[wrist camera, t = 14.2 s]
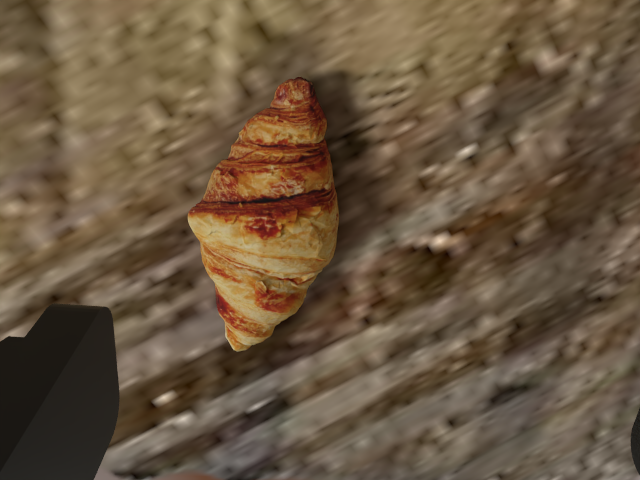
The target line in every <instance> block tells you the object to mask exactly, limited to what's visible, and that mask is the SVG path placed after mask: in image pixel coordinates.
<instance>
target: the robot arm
mask: <svg viewBox="0 0 640 480" xmlns="http://www.w3.org/2000/svg"><path fill="white" fill-rule="evenodd" d="M118 410H119V383H118V372H117V361H116V349H115V338H114V327H113V318H112V314H111V311H110V310H109V308H107V307H100V306H85V305H70V304H55V303H54V304H51V305H50V306H49V307H48V308H47V309H46V310H45V311H44V313H43V314H42V315H41V317H40V318H39V319H38V321H37V322H36V323H35V324H34V326H33V327H32V328H31V330H30V331H29V332H28V334H27V335H26V336H25V337H10V336H8V337H7V338H5V339H4V340H2V341H1V342H0V480H94V478H95V475H96V473H97V471H98V469H99V466H100V464H101V462H102V459H103V457H104V455H105V452H106V450H107V448H108V445H109V443H110V441H111V438H112V436H113V433H114V430H115V426H116V422H117V417H118ZM631 451H632V457H633V461H634V464H635V466H636V469H637V471H638V473H639V475H640V409H639V412H638V414H637V417H636V419H635V422H634V425H633V428H632V433H631Z"/></svg>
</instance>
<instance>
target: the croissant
mask: <svg viewBox="0 0 640 480" xmlns="http://www.w3.org/2000/svg"><path fill="white" fill-rule="evenodd" d="M326 129H327V119H326V117H325V115H324V113H323V111H322V109H321V106H320V104H319V102H318V100H317V98H316V94H315V90H314V88H313V84H312V83H311V82H309V81H307V80H306V79H303V78H302V77H297V78H295V79H289V80H287V81H285V82H284V83H282V84H281V85H279V87H278V88H277V90H276V92H275V96H274V99H273V101H272V103H271V106H270V108H266V109H264V110H263V111H261V112H259V113H257V114H256V115H255V116H253V117H252V118H251V119H249V120H248V121H247V123H246V124H245V126H244V128H243V130H242V131H241V132H239V137H238V139H237V140H236V142H235V143H234V144H233V145H232V146H231V152H230V155H229V157H228V159H226V160H222V161H221V162H220V163H219V164H218V165H217V167H216V168H215V170H214V171H213V173H212V175H211V178H210V180H209V183H208V187H207V191H206V193H205V195H204V197H203V199H202V200H201V202H200V203H198V204H196V206H195V207H193V208H192V209H191V210H190V211H189V213H188V222H189V225H190V227H191V229H192V230H193V232H194V233H195V235H196V237H197V238H198V239H199V241H200V242H201V254H202V261H203V263H204V266H205V268H206V271H207V273H208V275H209V276H210V278H211V279H212V280H213V281H214V282H215V289H216V304H217V308H218V311H219V314H220V316H221V317H222V318H223V319H224V321H225V330H226V334H225V336H226V338H227V340H228V341H229V343H230V344H231V346H232V348H233V349H234V350H235V351H242V350H246V349H248V348H249V347H250V346H251V345H255V344H256V343H260V342H262V341H264V340H265V339H266V338H268V337H270V336H271V335H272V333H273V331H274V328H275V326H276V325H278V324H279V323H280V322H281V321H283V320H285V319H287V318H288V317H289V316H291V315H292V314H295V313H296V312H297V311H298V309H299V307H301V305H302V304H303V301H304V298H305V297H306V293H307V289H308V287H309V286H310V284H311V283H312V282H314V280H315V279H316V276H317V275H318V273H320V272H322V269H323V267H325V266H326V265H328V264H329V262H330V261H331V259H332V258H333V256H334V252H335V248H336V242H337V231H338V224H339V210H338V202H337V194H336V190H335V186H334V179H333V172H332V164H331V159H330V154H329V151H328V148H327V144H326V141H325V138H324V136H325V133H326Z"/></svg>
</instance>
